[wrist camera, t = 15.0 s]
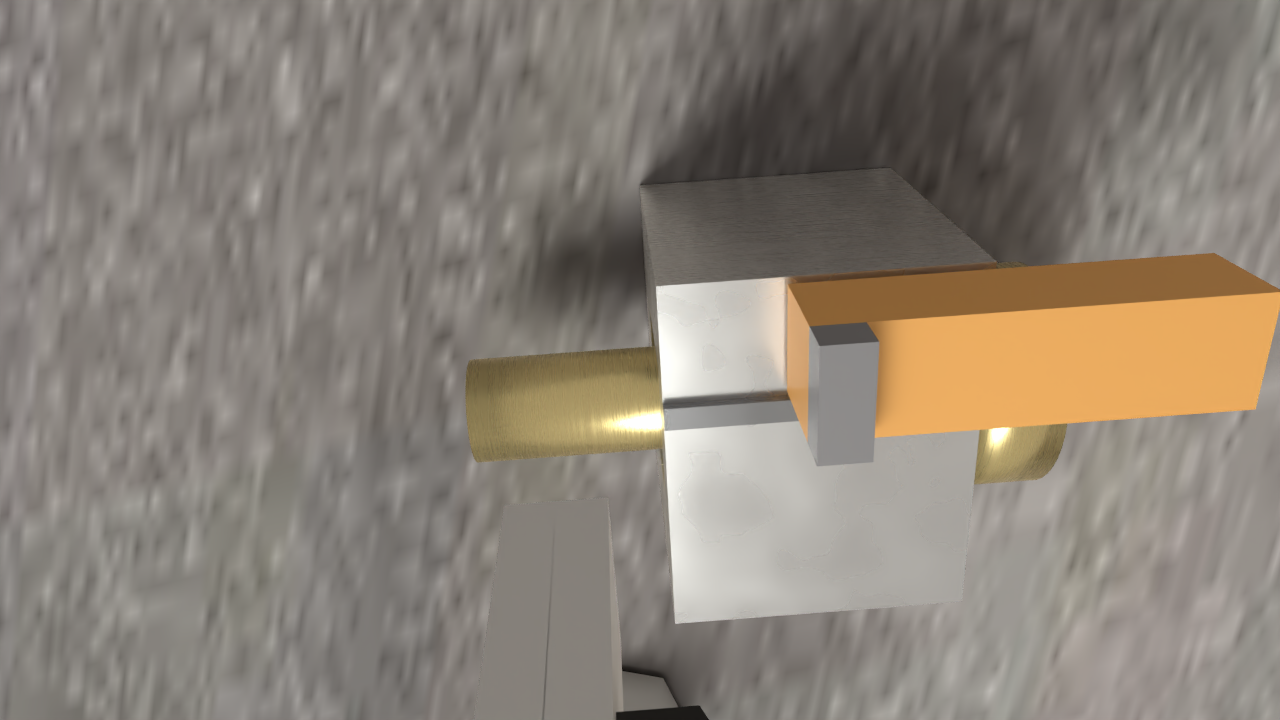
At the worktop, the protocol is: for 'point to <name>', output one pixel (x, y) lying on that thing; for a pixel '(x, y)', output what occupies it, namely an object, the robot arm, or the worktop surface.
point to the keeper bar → (1023, 348)
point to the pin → (649, 412)
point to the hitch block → (764, 415)
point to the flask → (645, 692)
